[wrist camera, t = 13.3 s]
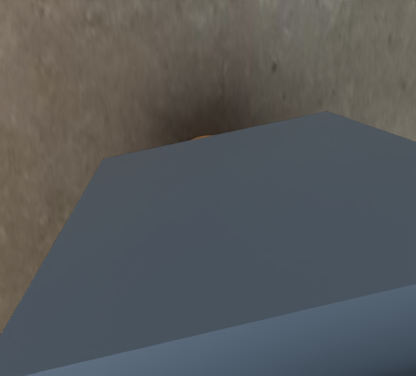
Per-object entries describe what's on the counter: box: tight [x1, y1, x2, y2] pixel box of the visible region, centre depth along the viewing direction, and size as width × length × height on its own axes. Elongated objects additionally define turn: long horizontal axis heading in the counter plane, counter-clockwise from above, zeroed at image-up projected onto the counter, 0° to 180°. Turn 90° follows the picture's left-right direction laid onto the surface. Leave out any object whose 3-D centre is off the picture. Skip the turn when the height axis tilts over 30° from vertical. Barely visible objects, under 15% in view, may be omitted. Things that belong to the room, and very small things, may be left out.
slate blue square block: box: [0, 111, 416, 376], centre depth 9 cm, size 8×8×9 cm
